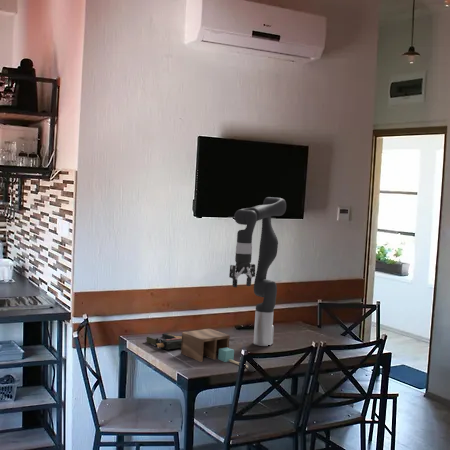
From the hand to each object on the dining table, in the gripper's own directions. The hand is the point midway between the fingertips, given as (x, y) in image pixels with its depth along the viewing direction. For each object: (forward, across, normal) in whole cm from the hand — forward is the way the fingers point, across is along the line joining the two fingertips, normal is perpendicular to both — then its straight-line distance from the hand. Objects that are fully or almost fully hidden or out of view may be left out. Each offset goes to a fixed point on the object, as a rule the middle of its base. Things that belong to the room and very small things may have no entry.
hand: (241, 286), depth 293 cm
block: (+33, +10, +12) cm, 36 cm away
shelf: (+33, +14, -8) cm, 37 cm away
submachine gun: (+34, +14, -33) cm, 49 cm away
